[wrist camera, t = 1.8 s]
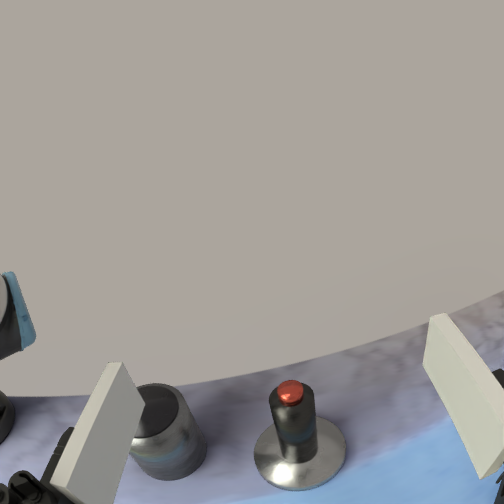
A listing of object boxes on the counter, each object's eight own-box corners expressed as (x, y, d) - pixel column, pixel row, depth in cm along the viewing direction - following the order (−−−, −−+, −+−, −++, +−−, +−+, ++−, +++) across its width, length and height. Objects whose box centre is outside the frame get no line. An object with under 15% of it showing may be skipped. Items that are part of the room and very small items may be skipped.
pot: (125, 458, 32) (93, 418, 29) (168, 415, 38) (145, 372, 35) (175, 492, 27) (144, 456, 24) (221, 440, 34) (201, 397, 31)
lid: (239, 472, 29) (210, 412, 25) (281, 412, 37) (267, 343, 32) (323, 502, 24) (321, 449, 19) (357, 431, 31) (362, 361, 27)
